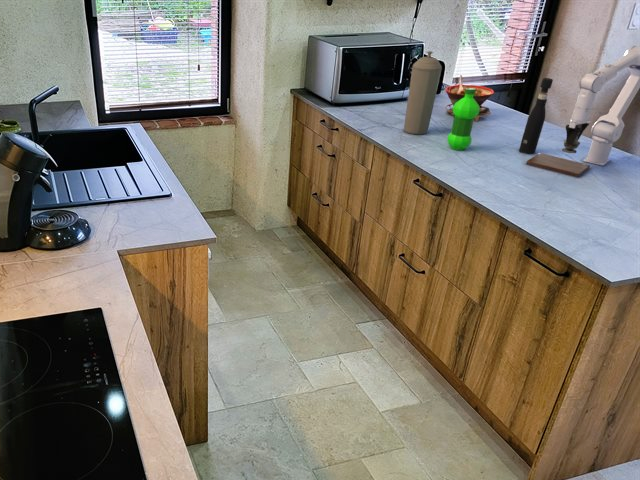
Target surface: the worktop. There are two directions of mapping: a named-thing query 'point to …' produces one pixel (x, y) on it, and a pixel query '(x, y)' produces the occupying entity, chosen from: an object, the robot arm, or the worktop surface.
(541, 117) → the black bottle
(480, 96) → the stew
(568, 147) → the grey stone baluster
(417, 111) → the canister
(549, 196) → the worktop surface
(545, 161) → the cutting board
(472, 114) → the plastic bottle
